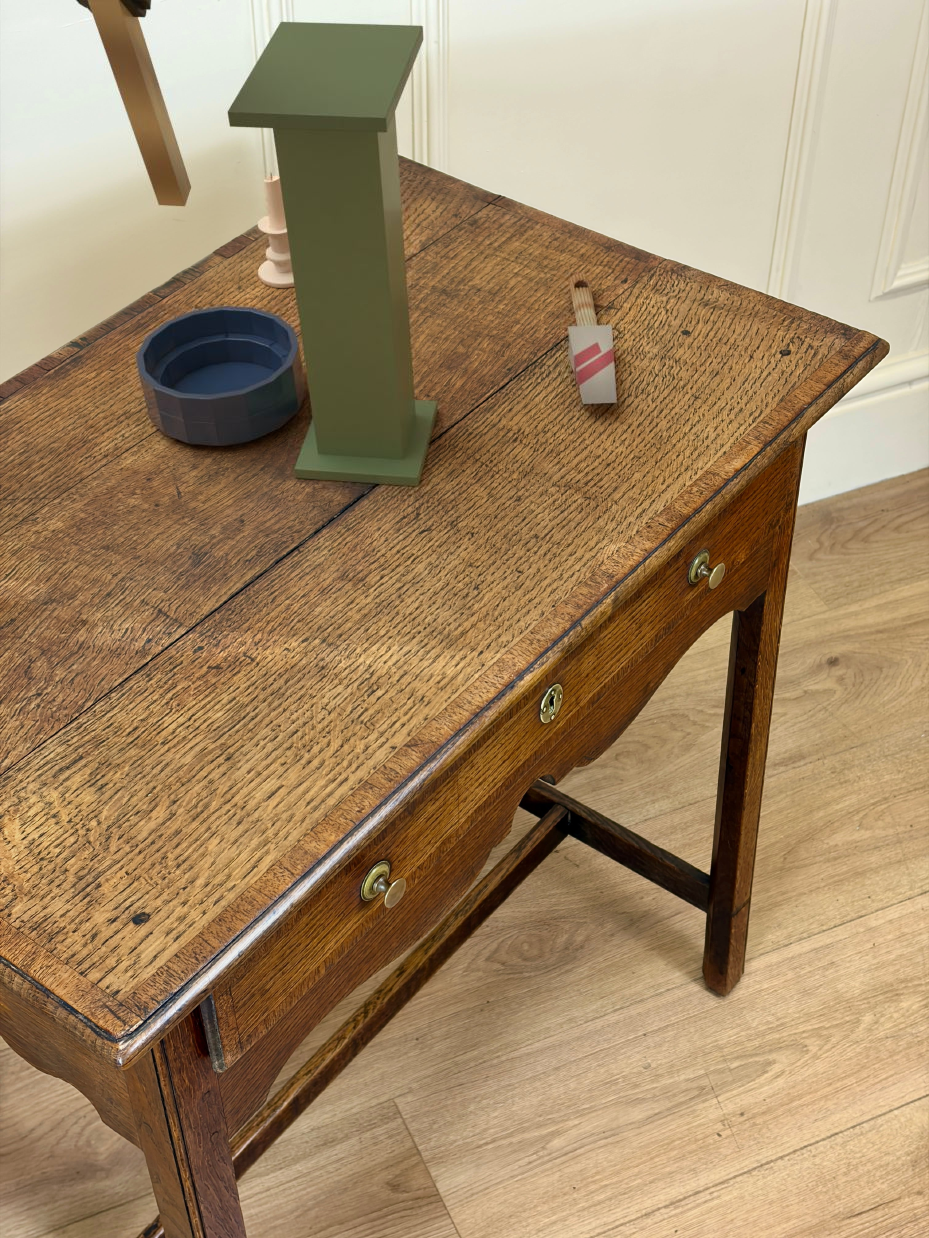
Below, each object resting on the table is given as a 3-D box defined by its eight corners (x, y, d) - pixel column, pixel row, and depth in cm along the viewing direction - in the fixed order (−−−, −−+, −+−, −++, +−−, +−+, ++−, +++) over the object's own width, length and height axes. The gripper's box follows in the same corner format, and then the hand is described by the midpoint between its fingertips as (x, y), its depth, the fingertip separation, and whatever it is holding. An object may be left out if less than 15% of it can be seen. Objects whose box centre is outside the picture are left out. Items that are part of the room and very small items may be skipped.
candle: (248, 273, 126) (231, 171, 118) (292, 254, 128) (278, 153, 121) (278, 294, 123) (263, 192, 115) (323, 274, 125) (311, 173, 118)
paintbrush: (576, 388, 106) (560, 269, 121) (575, 416, 108) (559, 295, 122) (623, 387, 106) (601, 267, 120) (622, 415, 108) (600, 293, 122)
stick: (95, -68, 76) (104, -89, 77) (63, -69, 76) (72, -90, 77) (185, 207, 94) (191, 187, 95) (158, 205, 94) (165, 186, 95)
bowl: (129, 447, 107) (114, 393, 103) (176, 355, 116) (164, 302, 112) (285, 458, 106) (276, 403, 102) (320, 364, 115) (313, 310, 111)
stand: (289, 494, 103) (226, 111, 80) (327, 389, 112) (280, 21, 90) (414, 503, 101) (385, 117, 79) (441, 396, 111) (422, 25, 89)
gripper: (128, -230, 65) (231, -55, 82) (-132, -232, 66) (23, -60, 84) (116, -78, 65) (222, 65, 82) (-142, -83, 66) (15, 58, 84)
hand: (121, 1), depth 83 cm, fingers closed on stick, 2 cm apart
